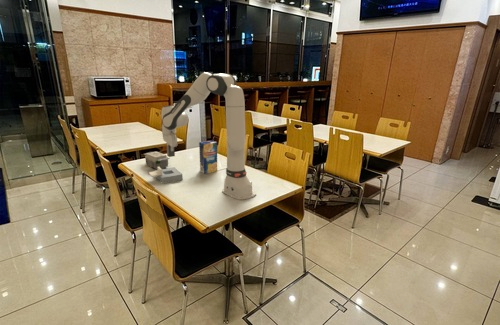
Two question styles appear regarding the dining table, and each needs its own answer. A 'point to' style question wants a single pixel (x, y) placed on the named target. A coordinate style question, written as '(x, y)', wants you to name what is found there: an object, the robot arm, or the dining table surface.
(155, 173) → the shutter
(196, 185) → the dining table surface
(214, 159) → the blue cracker box
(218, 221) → the dining table surface
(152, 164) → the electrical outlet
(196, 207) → the dining table surface
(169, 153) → the plug
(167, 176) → the socket
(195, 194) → the dining table surface
